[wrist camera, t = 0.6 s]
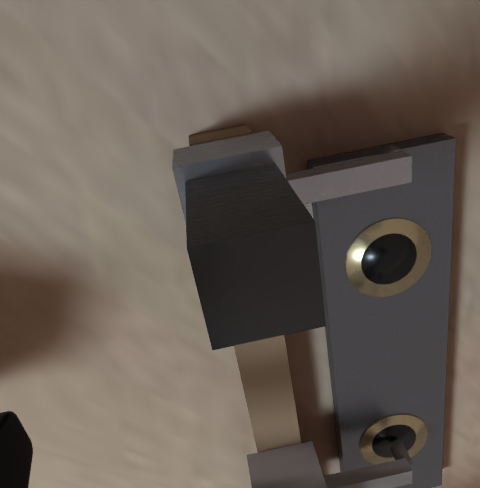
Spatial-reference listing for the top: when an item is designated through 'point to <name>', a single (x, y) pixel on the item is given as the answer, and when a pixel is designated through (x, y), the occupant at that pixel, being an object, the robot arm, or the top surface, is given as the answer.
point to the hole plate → (390, 309)
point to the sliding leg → (263, 231)
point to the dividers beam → (291, 412)
